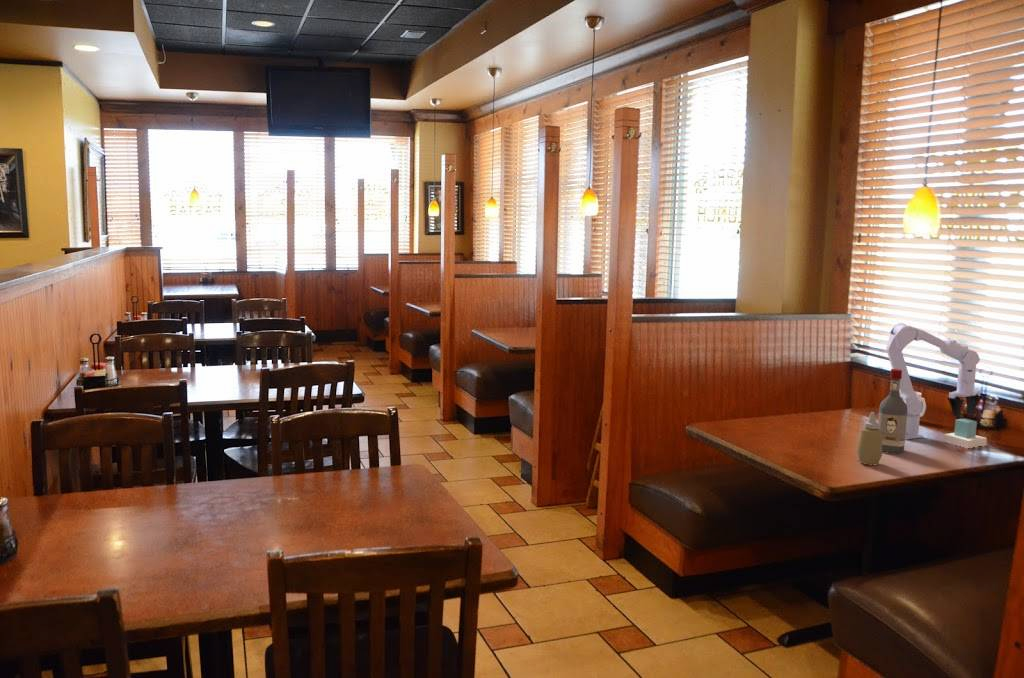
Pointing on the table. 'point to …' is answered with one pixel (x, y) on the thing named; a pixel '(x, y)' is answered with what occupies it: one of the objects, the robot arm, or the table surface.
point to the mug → (922, 402)
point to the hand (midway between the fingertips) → (962, 415)
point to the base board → (965, 441)
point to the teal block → (965, 428)
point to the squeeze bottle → (870, 442)
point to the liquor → (893, 417)
